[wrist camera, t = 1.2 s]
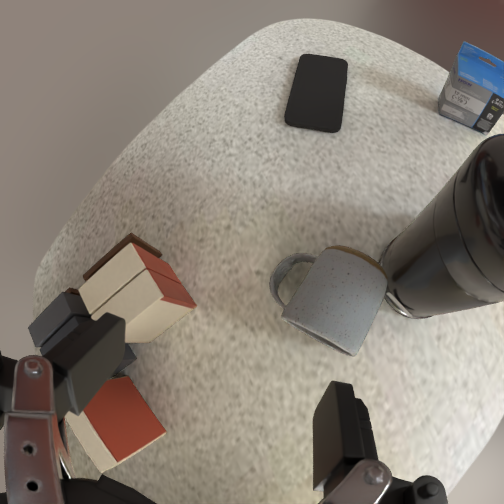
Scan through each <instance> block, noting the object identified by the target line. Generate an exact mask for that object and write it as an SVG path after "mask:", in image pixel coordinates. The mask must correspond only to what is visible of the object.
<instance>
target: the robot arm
mask: <svg viewBox="0 0 504 504" xmlns="http://www.w3.org/2000/svg"><path fill="white" fill-rule="evenodd" d="M379 265H380V266H381V267H382V268H383V269H384V271H385V273H386V275H387V278H388V283H387V288H386V292H385V295H384V298H385V299H386V301H387V302H388V304H389V305H390V306H391V307H392V308H393V309H394V310H395V311H397V312H398V313H400V314H401V315H403V316H406V317H408V318H414V319H422V318H428V317H431V316H434V315H440V314H446V313H451V312H456V311H461V310H466V309H471V308H476V307H481V306H485V305H490V304H494V303H498V302H502V301H504V134H498V135H494V136H491V137H489V138H487V139H485V140H484V141H483V142H481V143H480V144H479V145H478V146H477V147H476V148H475V149H474V150H473V152H472V153H471V154H470V155H469V157H468V158H467V159H466V160H465V162H464V163H463V164H462V165H461V167H460V168H459V169H458V170H457V171H456V173H455V174H454V175H453V176H452V177H451V179H450V180H449V181H448V182H447V183H446V185H445V186H444V187H443V188H442V189H441V190H440V192H439V193H438V194H437V195H436V196H435V197H434V198H433V200H432V201H431V202H430V203H429V204H428V205H427V206H426V207H425V208H424V209H423V211H422V212H421V213H420V214H419V215H418V216H417V217H416V218H415V219H414V220H413V221H412V222H411V224H410V225H409V226H408V227H407V228H406V229H405V230H404V231H403V232H402V233H401V234H400V235H399V236H398V237H396V238H395V239H394V240H393V241H392V242H391V243H390V244H389V245H388V246H387V247H386V249H385V250H384V252H383V254H382V257H381V259H380V263H379ZM125 330H126V322H125V319H124V318H121V317H119V316H116V315H114V314H111V313H109V312H106V313H104V314H103V315H102V316H101V317H100V318H99V319H98V320H93V319H91V320H88V321H86V322H83V323H81V324H79V325H78V326H77V327H76V328H75V329H74V330H73V331H71V332H70V333H69V334H68V335H66V337H64V338H63V339H62V340H61V341H60V342H58V343H57V344H56V345H55V346H54V347H53V348H51V349H50V350H49V351H48V352H47V353H46V354H45V355H43V356H38V355H29V356H26V357H23V358H22V359H20V360H19V361H17V360H14V359H11V358H8V357H5V356H2V355H1V351H0V430H1V428H2V427H3V426H4V465H5V480H6V492H5V493H0V504H156V503H155V502H153V501H152V500H150V499H149V498H147V497H145V496H144V495H142V494H141V493H139V492H138V491H136V490H135V489H133V488H131V487H129V486H126V485H124V484H122V483H120V482H117V481H115V480H113V479H111V478H109V477H107V476H105V475H103V474H102V475H101V477H100V478H99V480H98V481H97V480H92V479H85V478H76V476H75V473H74V469H73V466H72V462H71V458H70V452H69V446H68V439H67V432H66V424H65V418H64V416H65V415H66V414H67V413H68V411H70V412H71V413H73V414H75V415H77V416H79V415H80V414H81V412H82V411H83V410H84V409H85V407H86V406H87V405H88V403H89V402H90V401H91V400H92V398H93V397H94V396H95V395H96V393H97V392H98V391H99V390H100V388H101V387H102V386H103V385H104V383H105V382H106V381H107V380H108V378H109V377H110V376H111V375H112V373H113V372H114V371H115V370H116V368H117V367H118V366H119V365H120V363H121V361H122V359H123V357H124V353H125ZM371 428H372V426H371V422H370V417H369V413H368V409H367V407H366V406H365V404H364V403H363V402H362V400H361V399H358V398H355V396H354V391H353V387H352V385H351V384H348V383H342V382H337V381H331V382H330V384H329V386H328V388H327V389H326V391H325V393H324V395H323V397H322V399H321V400H320V402H319V404H318V406H317V408H316V410H315V413H314V416H313V491H323V492H324V498H323V499H322V500H321V501H320V502H319V503H318V504H448V501H447V496H446V492H445V488H444V486H443V484H442V483H441V482H440V481H439V480H438V479H437V478H435V477H433V476H428V475H425V476H421V477H419V478H418V479H416V480H415V481H414V482H413V483H412V482H409V481H405V480H401V479H398V478H395V477H393V476H392V473H391V471H390V469H389V468H388V467H387V466H386V465H385V464H384V463H382V462H381V461H379V460H378V456H377V450H376V445H375V441H374V436H373V431H372V430H371Z"/></svg>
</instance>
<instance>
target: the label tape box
mask: <svg viewBox="0 0 504 504" xmlns="http://www.w3.org/2000/svg"><path fill="white" fill-rule="evenodd" d="M479 57H483V58H485V59H487V58H488V59H490V60H491V62H492V63H494V64H496V67H493V66H492V65H490V64H488V63H486V62H484V61H482V60H480V59H479ZM438 100H439V113H440V114H441V115H443V116H446V117H448V118H451V119H453V120H455V121H458V122H460V123H462V124H464V125H467V126H469V127H471V128H473V129H475V130H477V131H479V132H481V133H483V134H485V135H488V133H489V132H490V131H491V129H492V128H493V127H494V125H495V124H496V122H497V121H498V119H499V118H500V117H501V115H502V114H503V112H504V62H503V61H501V60H500V59H498V58H496V57H494V56H493V55H491V54H489V53H487V52H485V51H483V50H481V49H479V48H477V47H475V46H473V45H471V44H469V43H467V42H465V41H463V44H462V46H461V49H460V51H459V53H458V54H457V56H456V58H455V61H454V63H453V66H452V68H451V71H450V73H449V76H448V78H447V80H446V83H445V85H444V87H443V89H442V92H441V94H440V96H439V99H438Z"/></svg>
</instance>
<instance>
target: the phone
mask: <svg viewBox="0 0 504 504" xmlns="http://www.w3.org/2000/svg"><path fill="white" fill-rule="evenodd" d="M347 69H348V63H347V61H345V60H343V59H340V58H334V57H328V56H321V55H313V54H303V55H301V57H300V59H299V63H298V66H297V70H296V73H295V77H294V81H293V85H292V89H291V92H290V96H289V100H288V104H287V107H286V111H285V116H284V117H285V122H286V123H287V124H288V125H290V126H295V127H302V128H308V129H314V130H320V131H325V132H332V133H334V132H338V131H339V130H340V128H341V123H342V115H343V107H344V98H345V89H346V83H347Z"/></svg>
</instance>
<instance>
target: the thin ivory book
mask: <svg viewBox="0 0 504 504" xmlns="http://www.w3.org/2000/svg"><path fill="white" fill-rule="evenodd" d="M64 417H65V418H66V420H67V422H68V424H69V425H70V427H71V429H72V430H73V432H74V434H75V435H76V437H77V439H78V440H79V442H80V443H81V445H82V446H83V448H84V450H85V451H86V453H87V454H88V456H89V457H90V459H91V460H92V461H93V463H94V464H95V466H96V467H97V469H98V470H99V471H100V473H103V472H105V471H107V470H109V469H111V468H113V467H115V466H117V465H119V464H120V463H122V462H124V461H125V460H127V459H128V458H130V457H132V456H133V455H135V454H136V453H138V452H139V451H141V450H142V449H144V448H146V447H147V446H149V445H150V444H152V443H153V442H155V441H156V440H158V439H159V438H161V437H162V436H164V435H165V434H166V433H167V432H166V430H165V429H164V428H163V426H162V425H161V423H160V422H159V421H158V419H157V418H156V417H155V415H154V414H153V412H152V411H151V409H150V408H149V407H148V405H147V404H146V402H145V401H144V399H143V398H142V396H141V395H140V393H139V392H138V390H137V389H136V387H135V385H134V384H133V382H132V381H131V379H130V378H129V376H124V377H118V378H113V379H108V380H107V381H106V382H105V383H104V385H103V386H102V387H101V388H100V390H99V391H98V392H97V393H96V395H95V396H94V397H93V398H92V400H91V401H90V402H89V403H88V405H87V406H86V407H85V409H84V410H83V411H82V412H81V414H80V415H79V416H77V415H75V414H73V413H71V412H70V411H68V413H67V414H66V415H65V416H64Z"/></svg>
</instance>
